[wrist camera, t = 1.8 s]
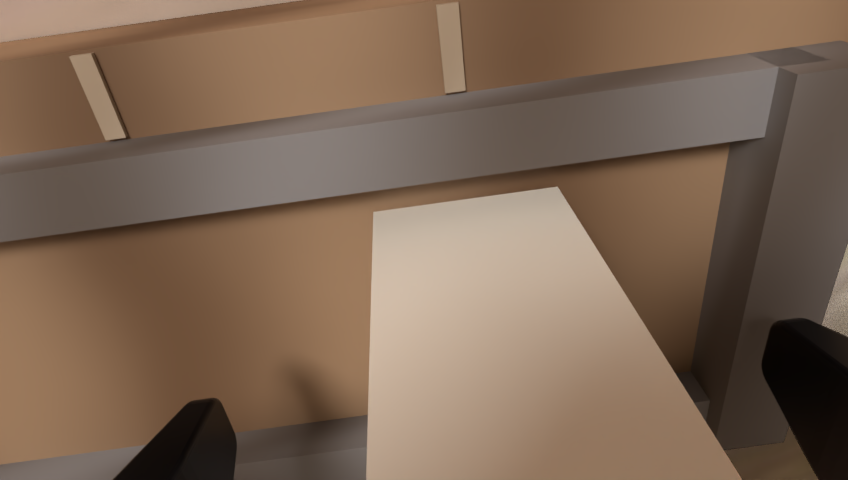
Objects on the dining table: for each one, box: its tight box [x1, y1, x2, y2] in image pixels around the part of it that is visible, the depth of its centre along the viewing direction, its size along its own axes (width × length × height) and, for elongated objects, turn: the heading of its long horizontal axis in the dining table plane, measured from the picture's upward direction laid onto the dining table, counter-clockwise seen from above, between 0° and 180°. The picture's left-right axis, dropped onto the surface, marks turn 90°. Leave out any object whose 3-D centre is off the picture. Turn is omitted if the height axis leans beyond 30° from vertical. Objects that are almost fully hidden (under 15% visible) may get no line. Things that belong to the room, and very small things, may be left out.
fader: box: [366, 187, 742, 480], centre depth 8 cm, size 3×4×6 cm
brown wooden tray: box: [0, 0, 848, 480], centre depth 10 cm, size 22×10×3 cm, turn 97°
